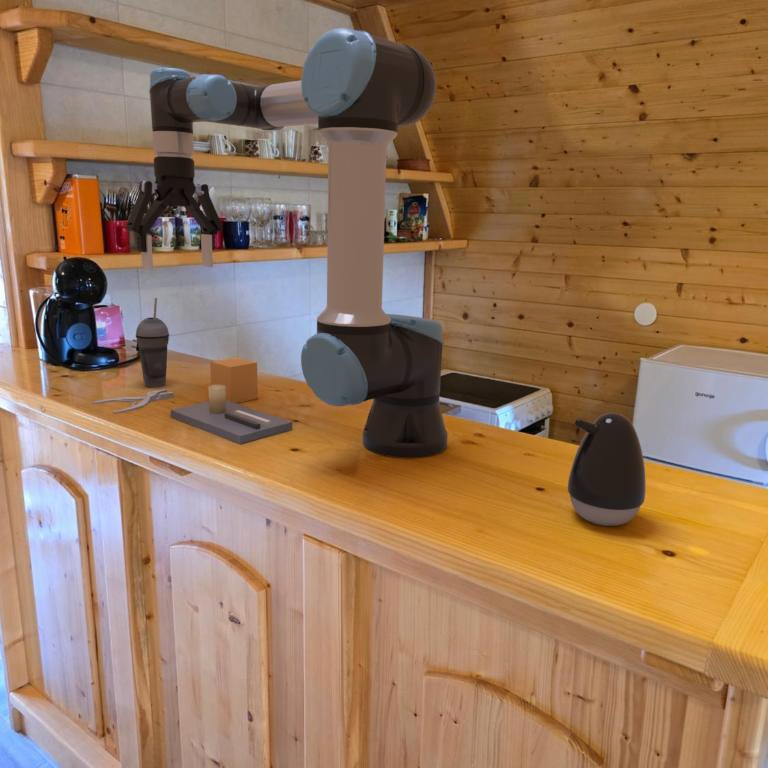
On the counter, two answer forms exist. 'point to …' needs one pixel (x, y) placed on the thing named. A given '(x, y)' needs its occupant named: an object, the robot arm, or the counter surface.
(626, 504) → the pump dispenser
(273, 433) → the plate
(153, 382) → the beverage cup
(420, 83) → the robot arm
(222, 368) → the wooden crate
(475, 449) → the counter surface
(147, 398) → the pliers
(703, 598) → the counter surface
